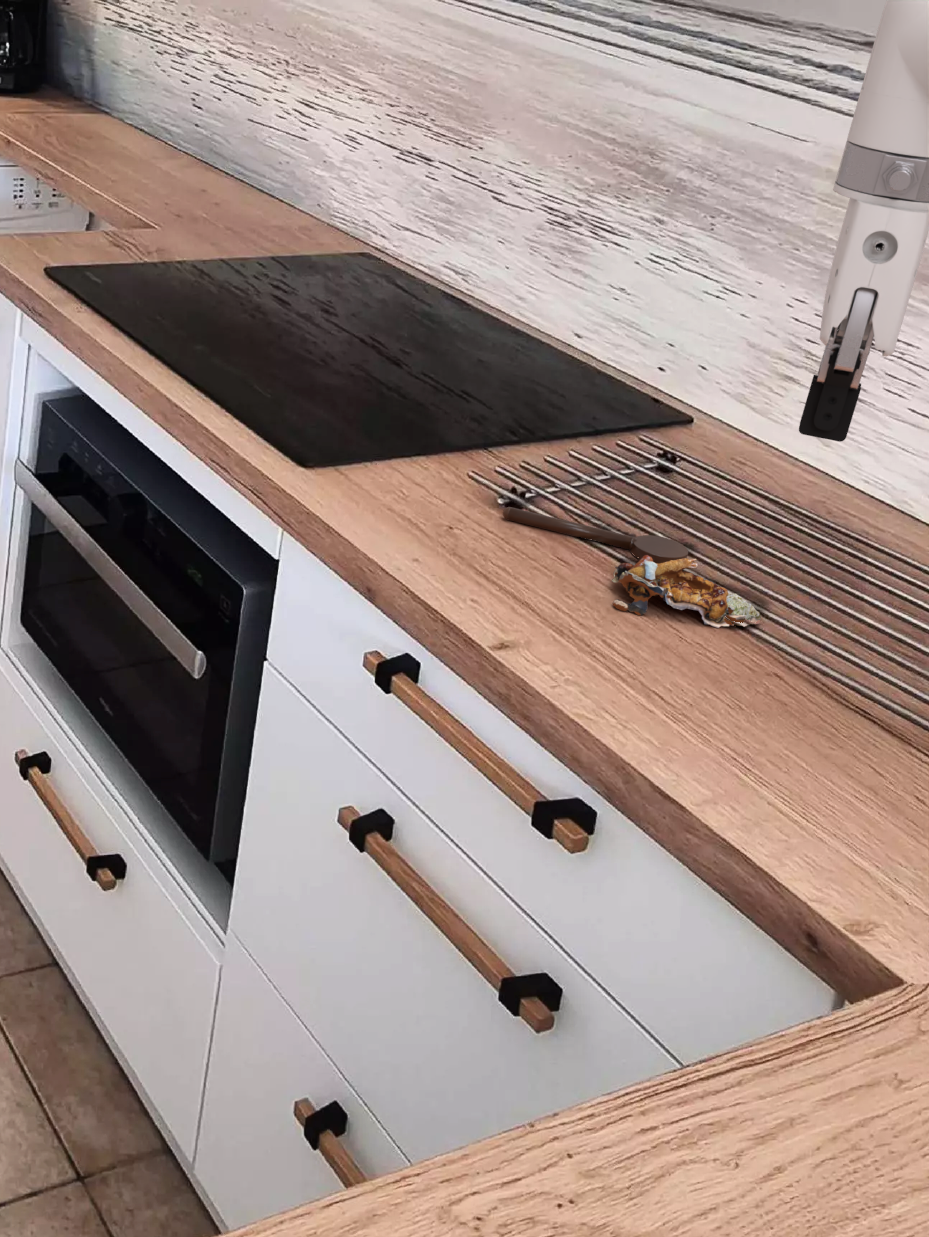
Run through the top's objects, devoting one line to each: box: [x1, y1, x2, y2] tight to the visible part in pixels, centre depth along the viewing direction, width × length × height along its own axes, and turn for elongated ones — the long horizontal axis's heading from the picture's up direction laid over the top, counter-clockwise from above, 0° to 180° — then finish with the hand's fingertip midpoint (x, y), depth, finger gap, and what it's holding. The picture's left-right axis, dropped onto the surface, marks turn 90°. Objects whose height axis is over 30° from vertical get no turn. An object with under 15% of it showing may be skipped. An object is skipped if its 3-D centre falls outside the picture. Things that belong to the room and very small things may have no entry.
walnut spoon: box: [502, 506, 689, 564], centre depth 152 cm, size 16×5×1 cm, turn 66°
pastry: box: [611, 555, 762, 629], centre depth 141 cm, size 7×12×4 cm, turn 78°
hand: (821, 434), depth 122 cm, fingers closed
